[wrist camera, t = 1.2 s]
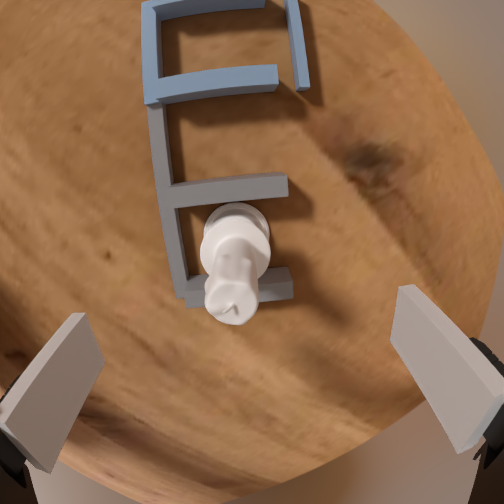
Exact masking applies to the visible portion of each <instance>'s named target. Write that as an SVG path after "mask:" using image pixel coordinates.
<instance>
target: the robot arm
mask: <svg viewBox="0 0 504 504" xmlns="http://www.w3.org/2000/svg"><path fill="white" fill-rule="evenodd" d="M390 342H391V343H392V345H393V347H394V348H395V350H396V351H397V353H398V354H399V356H400V357H401V359H402V360H403V362H404V364H405V365H406V367H407V368H408V370H409V372H410V373H411V375H412V376H413V378H414V380H415V381H416V383H417V384H418V386H419V388H420V389H421V391H422V393H423V394H424V396H425V398H426V399H427V401H428V403H429V404H430V406H431V408H432V409H433V411H434V413H435V415H436V416H437V418H438V420H439V422H440V423H441V425H442V427H443V429H444V430H445V432H446V434H447V436H448V438H449V439H450V441H451V443H452V445H453V447H454V449H455V451H456V452H457V454H460V453H461V452H464V451H465V450H467V449H469V448H471V447H473V446H475V445H476V443H477V442H478V441H479V439H480V438H481V437H482V435H483V436H484V437H485V439H486V442H485V443H484V444H483V445H482V447H481V448H480V449H479V450H478V452H477V453H476V454H475V456H474V458H473V460H476V459H477V458H478V456H479V455H480V454H481V457H480V460H479V461H480V462H479V466H478V470H477V474H476V478H475V482H474V485H473V489H472V492H471V495H470V499H469V501H468V504H504V364H503V363H502V362H501V361H499V359H498V358H497V357H496V356H495V355H494V354H492V351H491V350H490V349H489V348H488V347H487V346H486V345H485V344H484V343H482V342H481V341H479V340H477V339H475V338H474V337H472V338H468V337H467V336H466V335H465V334H464V333H463V332H462V331H461V330H460V329H459V328H458V327H457V326H456V325H455V324H454V323H453V322H452V321H451V320H450V319H449V318H448V317H447V316H446V315H445V314H444V313H443V312H442V311H441V310H440V309H439V308H438V307H437V306H436V305H435V304H434V303H433V302H432V301H431V300H430V299H429V298H428V297H427V296H426V295H425V294H424V293H423V292H422V291H421V290H419V289H418V288H417V287H416V286H415V285H414V284H412V285H406V286H399V287H398V294H397V301H396V308H395V314H394V320H393V326H392V332H391V337H390ZM105 363H106V362H105V360H104V357H103V355H102V353H101V350H100V348H99V346H98V343H97V341H96V338H95V336H94V333H93V331H92V328H91V326H90V323H89V320H88V318H87V315H86V313H72V314H71V315H70V316H69V318H68V319H67V320H66V321H65V322H64V323H63V324H62V326H61V327H60V328H59V329H58V330H57V331H56V333H55V334H54V335H53V336H52V337H51V338H50V340H49V341H48V342H47V343H46V344H45V346H44V347H43V348H42V349H41V351H40V352H39V353H38V354H37V356H36V357H35V358H34V359H33V361H32V362H31V363H30V364H29V366H28V367H27V368H26V370H25V371H24V372H23V373H22V374H20V375H19V376H18V377H17V378H16V379H15V380H14V381H13V383H12V384H11V385H10V388H8V390H7V391H6V392H5V395H3V396H2V398H1V399H0V504H38V501H37V498H36V495H35V492H34V488H33V484H32V481H31V477H30V473H29V470H28V467H27V466H26V465H25V464H24V463H25V461H26V459H27V460H28V461H29V462H30V463H31V464H32V465H33V466H34V467H35V468H37V469H40V470H42V471H45V472H47V473H51V472H52V469H53V467H54V464H55V462H56V460H57V458H58V456H59V453H60V451H61V449H62V447H63V445H64V443H65V441H66V438H67V436H68V434H69V432H70V430H71V428H72V426H73V424H74V422H75V420H76V418H77V416H78V414H79V412H80V410H81V408H82V406H83V404H84V402H85V400H86V398H87V396H88V394H89V392H90V390H91V389H92V387H93V385H94V383H95V381H96V379H97V377H98V376H99V374H100V372H101V370H102V368H103V366H104V365H105Z"/></svg>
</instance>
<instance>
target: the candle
mask: <svg viewBox="0 0 504 504" xmlns="http://www.w3.org/2000/svg"><path fill="white" fill-rule="evenodd" d="M269 236H270V232H269V226H268V223H267V221H266V219H265V217H264V216H263V215H262V213H261V212H260V211H259V210H257V209H256V208H254V207H253V206H251V205H248V204H245V203H239V202H234V203H228V204H225V205H222V206H220V207H219V208H217V209H216V210H215V211H213V212H212V214H211V215H210V216H209V218H208V219H207V221H206V224H205V227H204V239H203V241H202V244H201V248H200V258H201V262H202V265H203V267H204V269H205V271H206V272H207V273H208V274H209V277H208V278H207V280H206V282H205V293H206V295H205V307H206V309H207V311H208V312H209V313H210V314H211V315H213V316H214V317H215V318H216V319H217V320H219V321H221V322H223V323H226V324H233V325H243V324H245V323H246V322H247V321H248V320H249V319H250V318H251V317H252V316H253V315H254V314H255V312H256V311H257V308H258V304H259V289H258V278H259V277H261V276H262V275H263V273H264V272H265V271H266V269H267V267H268V265H269V262H270V256H271V251H270V245H269Z"/></svg>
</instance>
